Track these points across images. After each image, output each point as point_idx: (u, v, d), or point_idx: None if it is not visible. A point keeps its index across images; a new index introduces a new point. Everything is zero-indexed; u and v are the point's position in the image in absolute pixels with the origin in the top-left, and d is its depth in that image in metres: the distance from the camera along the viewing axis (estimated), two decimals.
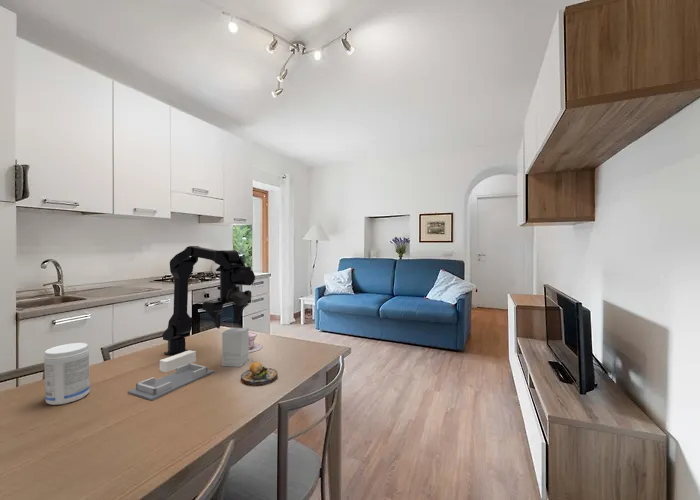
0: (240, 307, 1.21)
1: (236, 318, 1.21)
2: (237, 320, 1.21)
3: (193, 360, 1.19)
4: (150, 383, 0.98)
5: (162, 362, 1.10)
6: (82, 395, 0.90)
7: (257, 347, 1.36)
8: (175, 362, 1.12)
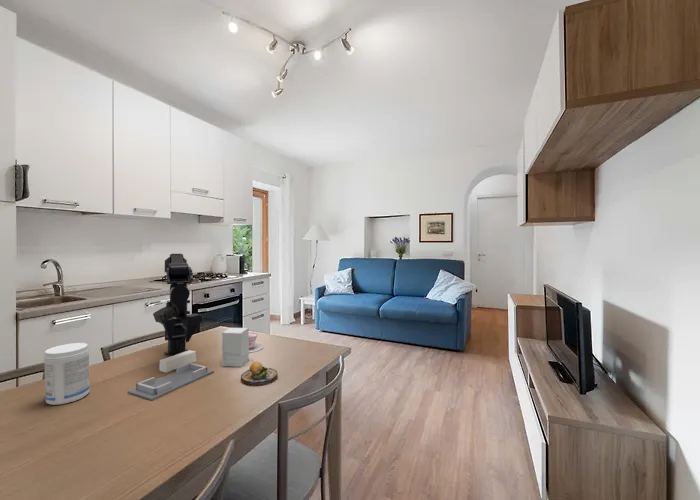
0: None
1: None
2: None
3: (193, 360, 1.19)
4: (150, 383, 0.98)
5: (162, 362, 1.10)
6: (82, 395, 0.90)
7: (258, 347, 1.36)
8: (175, 362, 1.12)
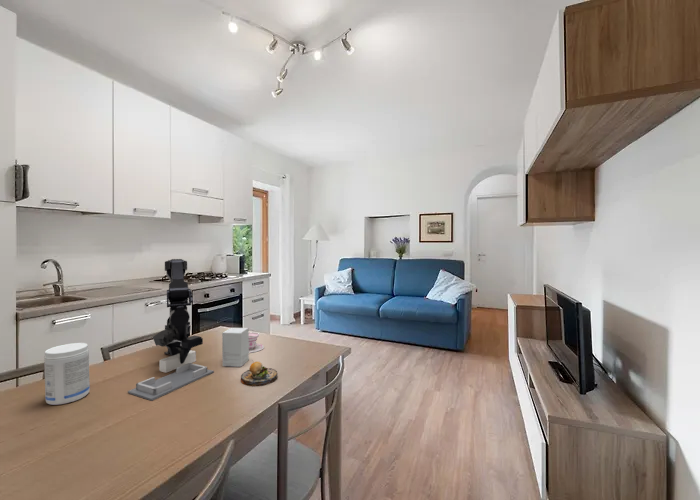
0: None
1: None
2: None
3: (193, 360, 1.19)
4: (150, 383, 0.98)
5: (162, 362, 1.10)
6: (82, 395, 0.90)
7: (259, 347, 1.36)
8: (175, 362, 1.12)
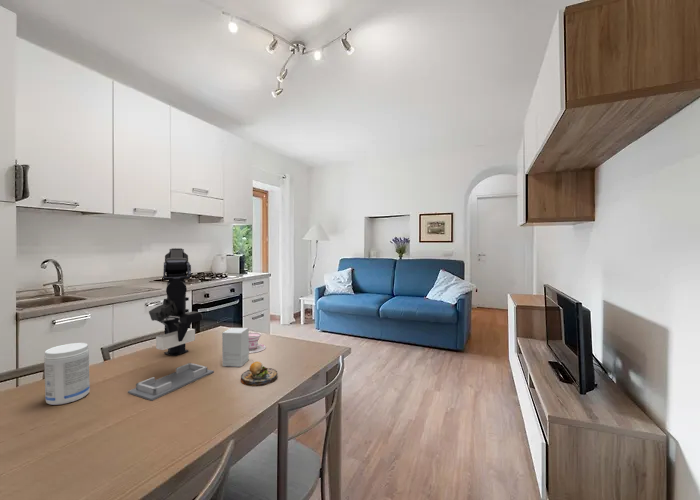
0: None
1: None
2: None
3: (192, 338, 1.11)
4: (150, 383, 0.98)
5: (159, 338, 1.02)
6: (82, 395, 0.90)
7: (261, 347, 1.36)
8: (173, 338, 1.04)
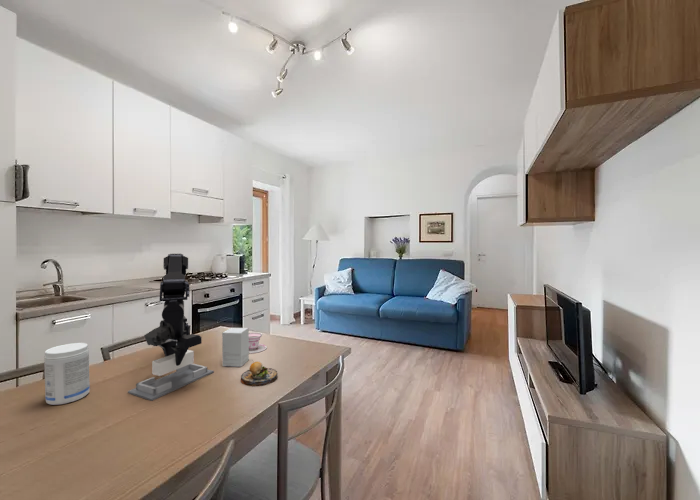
0: None
1: None
2: None
3: (191, 361, 1.05)
4: (150, 383, 0.98)
5: (155, 363, 0.96)
6: (82, 395, 0.90)
7: (262, 348, 1.36)
8: (170, 363, 0.98)
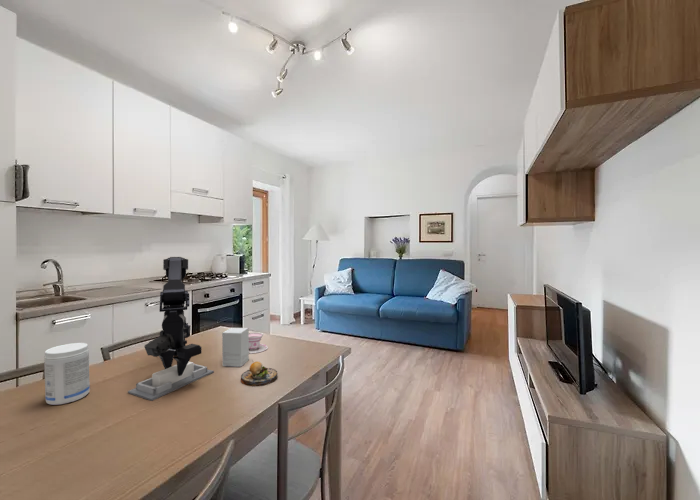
0: None
1: None
2: None
3: (191, 372, 1.05)
4: (150, 383, 0.98)
5: (155, 376, 0.96)
6: (82, 395, 0.90)
7: (263, 348, 1.36)
8: (170, 375, 0.98)
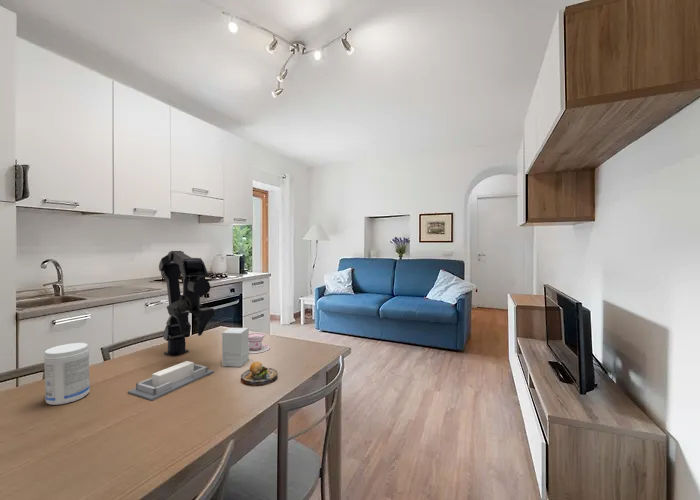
0: None
1: None
2: None
3: (191, 372, 1.05)
4: (150, 383, 0.98)
5: (155, 376, 0.96)
6: (82, 395, 0.90)
7: (265, 348, 1.35)
8: (170, 375, 0.98)
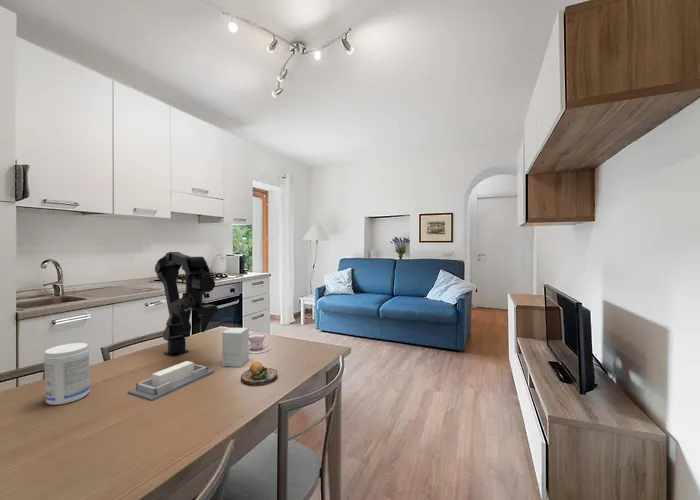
0: None
1: None
2: None
3: (191, 372, 1.05)
4: (150, 383, 0.98)
5: (155, 376, 0.96)
6: (82, 395, 0.90)
7: (266, 348, 1.35)
8: (170, 375, 0.98)
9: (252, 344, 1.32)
